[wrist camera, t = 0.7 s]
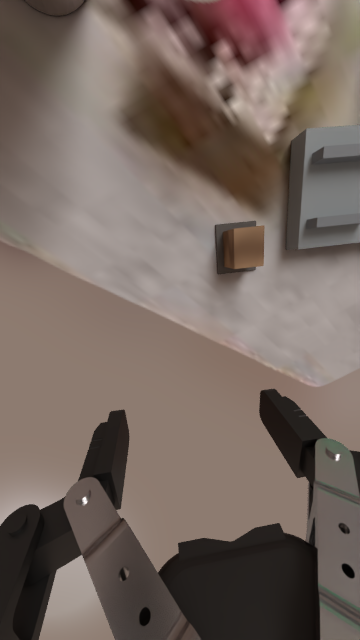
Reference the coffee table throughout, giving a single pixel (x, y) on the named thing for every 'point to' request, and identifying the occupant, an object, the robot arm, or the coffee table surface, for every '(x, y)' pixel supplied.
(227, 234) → the block
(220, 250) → the mat
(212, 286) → the coffee table surface
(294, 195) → the rail board
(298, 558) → the robot arm
